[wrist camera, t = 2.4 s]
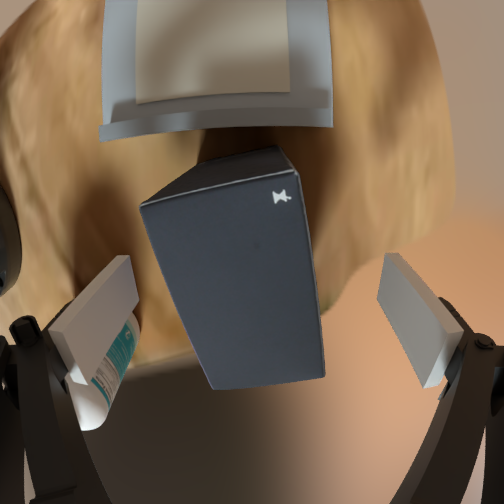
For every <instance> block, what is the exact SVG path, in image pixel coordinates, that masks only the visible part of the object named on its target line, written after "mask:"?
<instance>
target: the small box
mask: <svg viewBox="0 0 504 504" xmlns="http://www.w3.org/2000/svg"><path fill="white" fill-rule="evenodd" d="M139 210H140V213H141V216H142V219H143V222H144V225H145V228H146V231H147V234H148V237H149V240H150V242H151V245H152V248H153V251H154V253H155V256H156V259H157V261H158V264H159V267H160V269H161V272H162V274H163V277H164V280H165V282H166V285H167V287H168V290H169V292H170V295H171V297H172V300H173V302H174V304H175V307H176V309H177V312H178V314H179V316H180V319H181V321H182V323H183V326H184V328H185V330H186V333H187V335H188V337H189V340H190V342H191V344H192V346H193V349H194V351H195V353H196V355H197V357H198V359H199V362H200V364H201V366H202V368H203V370H204V372H205V374H206V376H207V379H208V381H209V383H210V385H211V387H212V389H214V390H223V389H238V388H250V387H251V388H252V387H258V386H267V385H275V384H283V383H290V382H297V381H303V380H310V379H317V378H323V377H325V360H324V348H323V338H322V327H321V318H320V308H319V299H318V291H317V282H316V275H315V269H314V262H313V253H312V247H311V239H310V232H309V226H308V219H307V214H306V207H305V203H304V196H303V190H302V185H301V179H300V175H299V172H297V170H296V168H295V167H294V165H293V164H292V163H291V161H290V160H289V159H288V157H286V155H285V153H284V152H283V149H282V148H281V147H280V146H278V145H275V146H269V147H267V148H265V149H257V150H255V151H254V150H252V151H250V152H247V153H246V152H244V153H241V154H236V155H231V156H227V157H223V158H222V157H218V158H214V159H212V160H209V161H206V162H203V163H199V164H197V165H196V166H194V167H193V168H191V169H190V170H188V171H187V172H186V173H184V174H182V175H181V176H180V177H178V178H177V179H175V180H174V181H173V182H171V183H170V184H168V185H167V186H166V187H164V188H162V189H161V190H160V191H158V192H157V193H156V194H154V195H153V196H152V197H150V198H149V199H148V200H146V201H144V202H142V203H141V205H140V206H139Z"/></svg>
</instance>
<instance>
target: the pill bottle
mask: <svg viewBox="0 0 504 504" xmlns="http://www.w3.org/2000/svg"><path fill="white" fill-rule="evenodd" d="M139 337H140V329H139V325H138V322H137V319H136V317H135V315H134V314H133V312H131V314H130V316H129V317H128V319H127V320H126V322H125V324H124V325H123V327H122V328H121V330H120V332H119V333H118V335H117V337H116V338H115V340H114V342H113V343H112V345H111V346H110V348H109V350H108V352H107V353H106V355H105V357H104V358H103V360H102V362H101V363H100V365H99V367H98V369H97V370H96V372H95V374H94V376H93V377H92V379H91V381H90V383H89V384H88V385H85V384H80V383H76V382H74V381H73V380H72V378H71V376H70V374H69V372H68V373H67V375H66V376H65V380H66V381H67V383H68V387H69V391H70V394H71V398H72V402H73V405H74V409H75V412H76V415H77V418H78V422H79V425H80V428H81V430H92V429H95V428H97V427H99V426H100V425H102V423H103V422H104V421H105V419H106V416H107V414H108V411H109V409H110V406H111V404H112V402H113V399H114V397H115V394H116V392H117V389H118V387H119V385H120V383H121V380H122V378H123V376H124V374H125V371H126V369H127V367H128V364H129V362H130V360H131V358H132V355H133V353H134V351H135V349H136V346H137V344H138V342H139Z"/></svg>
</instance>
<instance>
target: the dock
mask: <svg viewBox="0 0 504 504" xmlns="http://www.w3.org/2000/svg"><path fill="white" fill-rule="evenodd" d="M102 109H103V125H101V126H99V139H100V142H104V141H110V140H117V139H123V138H129V137H136V136H142V135H150V134H157V133H166V132H175V131H184V130H195V129H208V128H224V127H247V126H309V127H333V87H332V62H331V44H330V30H329V18H328V7H327V0H106V2H105V12H104V25H103V41H102Z"/></svg>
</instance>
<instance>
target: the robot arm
mask: <svg viewBox="0 0 504 504" xmlns="http://www.w3.org/2000/svg"><path fill="white" fill-rule="evenodd" d="M20 267H21V247H20V239H19V233H18V229H17V224H16V221H15V217H14V214H13V211H12V208H11V206H10V203H9V201H8V198H7V196H6V194H5V192H4V190H3V189H2V187H1V185H0V297H1V296H2V295H4V294H5V293H6V292H7V291H8V290H9V289H10V288H11V287H13V285H14V284H15V283H16V281H17V279H18V276H19V272H20ZM377 301H378V302H379V304H380V306H381V308H382V309H383V311H384V313H385V315H386V317H387V318H388V320H389V322H390V324H391V326H392V328H393V330H394V331H395V333H396V335H397V337H398V339H399V341H400V343H401V345H402V346H403V349H404V350H405V353H406V354H407V356H408V358H409V360H410V362H411V364H412V366H413V369H414V371H415V372H416V375H417V377H418V379H419V381H420V383H421V385H422V387H423V388H428V387H432V386H437V385H439V383H440V382H441V380H442V378H443V376H444V375H445V376H446V378H447V380H448V382H447V384H446V386H445V387H444V389H443V391H442V393H441V394H440V396H439V398H438V400H440V402H439V404H438V407H437V410H436V413H435V415H434V417H433V420H432V422H431V425H430V427H429V429H428V432H427V434H426V436H425V439H424V441H423V443H422V445H421V447H420V449H419V451H418V454H417V455H416V457H415V459H414V461H413V463H412V466H411V467H410V469H409V471H408V473H407V475H406V477H405V478H404V480H403V482H402V484H401V485H400V487H399V489H398V490H397V492H396V494H395V496H394V497H393V499H392V501H391V502H390V504H460V503H461V501H462V499H463V496H464V493H465V491H466V488H467V486H468V483H469V480H470V477H471V474H472V472H473V468H474V465H475V462H476V459H477V456H478V452H479V449H480V445H481V441H482V437H483V433H484V428H486V446H485V447H486V448H485V469H484V481H483V491H482V499H481V504H504V346H497V345H496V344H495V342H494V341H493V340H492V339H491V338H490V337H489V336H487V335H485V334H481V333H474V332H473V330H472V329H471V328H470V327H469V325H468V324H467V323H466V322H465V321H464V319H463V318H462V317H460V314H459V313H458V312H457V311H456V309H455V308H454V307H453V306H452V305H451V304H450V303H449V302H448V301H446V300H445V299H443V298H442V297H437V296H436V295H435V294H434V293H433V291H432V290H431V289H430V288H429V287H428V286H427V284H426V283H425V282H424V281H423V280H422V279H421V278H420V276H419V275H418V274H417V273H416V272H415V271H414V270H413V269H412V267H411V266H410V265H409V264H408V263H407V262H406V261H405V260H404V259H403V258H402V256H401V255H400V254H399V253H385V257H384V263H383V269H382V274H381V280H380V286H379V290H378V296H377ZM138 302H139V296H138V292H137V288H136V283H135V279H134V274H133V270H132V265H131V260H130V255H117V256H116V257H115V258H114V259H113V260H112V261H111V262H110V263H109V264H108V265H107V266H106V267H105V268H104V269H103V270H102V271H101V272H100V273H99V274H98V275H97V276H96V277H95V278H94V279H93V280H92V281H91V282H90V283H89V285H88V286H87V287H86V288H85V289H84V290H83V291H82V292H81V293H80V294H79V295H78V296H77V297H76V298H75V299H73V300H72V301H70V302H69V303H67V304H66V305H65V306H64V307H63V308H62V309H61V310H60V312H58V313H57V314H56V316H55V318H53V319H52V320H51V321H50V322H49V323H48V325H47V326H46V327H45V328H44V329H43V330H42V332H41V330H40V328H39V326H38V323H37V321H36V319H35V317H33V316H30V315H27V316H22V317H20V318H18V319H17V320H15V321H14V322H13V323H12V324H11V325H10V328H9V330H10V333H11V335H12V337H13V339H14V341H15V343H16V345H9V344H8V342H7V340H6V338H5V337H4V336H2V335H0V504H25V499H24V452H25V451H26V456H27V461H28V465H29V470H30V474H31V479H32V483H33V487H34V490H35V495H36V496H35V498H34V499H32V500H30V503H29V504H112V502H111V500H110V498H109V497H108V494H107V492H106V490H105V488H104V486H103V484H102V481H101V479H100V477H99V475H98V472H97V470H96V468H95V465H94V463H93V460H92V458H91V455H90V453H89V450H88V448H87V445H86V442H85V439H84V437H83V434H82V431H81V428H80V425H79V422H78V418H77V415H76V412H75V409H74V405H73V402H72V398H71V394H70V391H69V387H68V383H67V381H66V380H65V376H66V375H67V373H68V372H69V374H70V376H71V378H72V380H73V381H74V382H76V383H80V384H85V385H88V384H89V383H90V381H91V379H92V377H93V376H94V374H95V372H96V370H97V369H98V367H99V365H100V363H101V362H102V360H103V358H104V357H105V355H106V353H107V352H108V350H109V348H110V346H111V345H112V343H113V342H114V340H115V338H116V337H117V335H118V333H119V332H120V330H121V328H122V327H123V325H124V324H125V322H126V320H127V319H128V317H129V316H130V314H131V312H132V311H133V309H134V308H135V306H136V305H137V303H138ZM2 382H3V383H4V385H5V388H4V390H3V386H2Z"/></svg>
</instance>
